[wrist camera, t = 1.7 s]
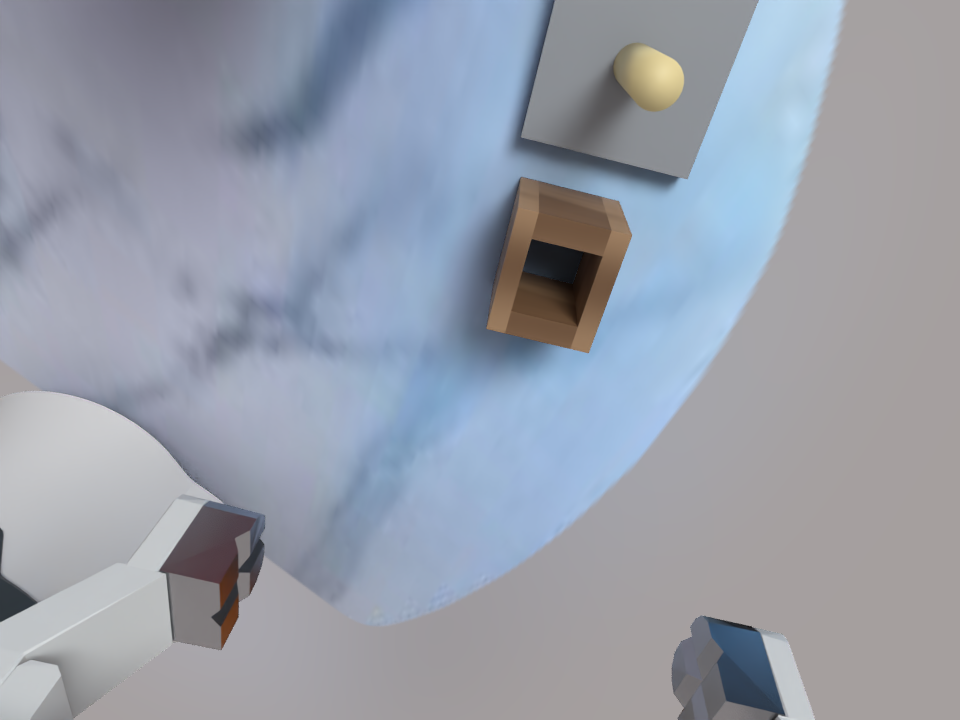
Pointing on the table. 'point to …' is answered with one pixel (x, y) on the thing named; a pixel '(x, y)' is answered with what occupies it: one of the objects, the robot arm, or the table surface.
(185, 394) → the table surface
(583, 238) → the collar
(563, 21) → the post stand
